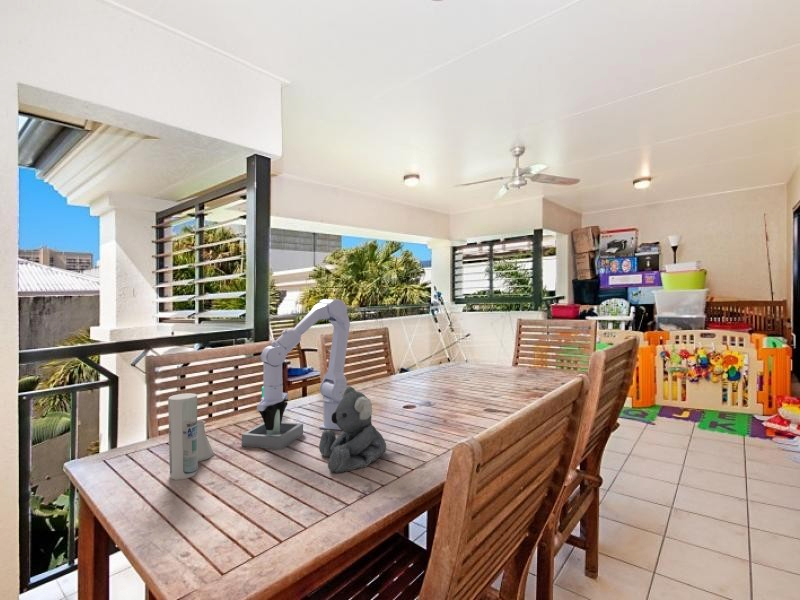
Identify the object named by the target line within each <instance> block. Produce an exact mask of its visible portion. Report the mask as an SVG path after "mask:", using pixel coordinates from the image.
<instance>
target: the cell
mask: <svg viewBox="0 0 800 600" xmlns="http://www.w3.org/2000/svg"><path fill="white" fill-rule="evenodd" d="M279 433H280V410H279V409H277V411H276V414H275V419H274V428H273V430H267V435H277V434H279Z"/></svg>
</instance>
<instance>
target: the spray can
mask: <svg viewBox="0 0 800 600" xmlns="http://www.w3.org/2000/svg"><path fill="white" fill-rule="evenodd" d="M167 405H168V406H167V407H168V411H167V412H168V443H169V444H168V445H169V447H168V448H169V449H168V451H169V455H168V456H169V457H168V459H169V478H170V479H171V480H176V481H177V480H179V481H180V480H185V479H188V478H192V477H194V476H195V475H196V474H197V473H198V470H199V469H198V468H199V465H198V458H197V421H198V395H197V393H191V392H188V393H187V392H186V393H178V394H174V395H171V396H169V397H168V398H167Z"/></svg>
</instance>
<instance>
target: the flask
mask: <svg viewBox="0 0 800 600" xmlns="http://www.w3.org/2000/svg"><path fill="white" fill-rule="evenodd" d="M206 423H207V422H206V421H204V420H197V458H198V462H202V461H205V460H208V459H211V457H213V456H214V455H215V453H214V450H213V448H212V446H211V443H210V441H209V440H208V439H209V438H208V437H207V433H206V429H205V424H206Z"/></svg>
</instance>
